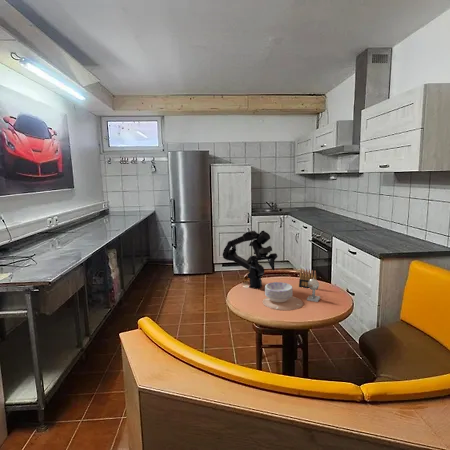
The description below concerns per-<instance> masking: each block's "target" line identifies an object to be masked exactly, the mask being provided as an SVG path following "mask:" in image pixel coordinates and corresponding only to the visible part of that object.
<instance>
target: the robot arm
mask: <svg viewBox="0 0 450 450" xmlns="http://www.w3.org/2000/svg"><path fill="white" fill-rule="evenodd" d="M270 239H271V235H270V233H268V232H266V231H265V230H261V231H260V232H259V233H258V232H257V231H256V230H250V231H246V232H244V233H243V234H242V236H241V235H240V236H238V237H237V238H234V239H232V240H229V241H228V242H227V244H226V246H225V247H224V249H223V252H222V258H223V260H226V261H229V262H230V261H231V262H234V263H235V264H237V265H238V266H239V265H240V266H241V267H243V269H246V270H248V274H247V278H248V279H249V286H248V288H251V289H258V290H259V289H260V288H261V287H263V284H262V283H263V282H262V281H263V280H262V277H263V276H264V274H265V267H264V266H263V265H262V264H260V263H259V261H266V260H267V261H268V262H267V263H268V265H269V266H270V268H271V270H273V272H274V271H275V270H276V269H275V261H276V259H277V258H278V256H279V255H278V254H277V253H276V252H274V253H271V252H272V251H273V247H272V246H271V245H268V246H267V247H264V246H263V245H265V244H266V243H267V242H268V241H269V240H270ZM244 242H250V243H249V245H248V246H249V247H252V249H253V255H250V256H249V257H248V258H247V259H245V258H243V257H241V256H240V255H238V253H237V252H236V251H237V247H236V246H237V245H240V244H243V243H244ZM269 253H270V254H269Z"/></svg>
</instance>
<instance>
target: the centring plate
mask: <svg viewBox="0 0 450 450" xmlns="http://www.w3.org/2000/svg"><path fill="white" fill-rule="evenodd" d="M262 304H263V305H264V306H265V307H267V308H270V309H271V310H276V311H293V310H298V309H301V308H302V307H303V306H304V302H303V300H302V299H301V298H298V297H295V296H293V295H292V297H290V298H289V299H288V300H287V301H286V302H281V303H278V302H273V301H271V300H270V299H269V297H267V296H265V297H264V298H263V300H262Z"/></svg>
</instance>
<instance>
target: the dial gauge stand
mask: <svg viewBox="0 0 450 450" xmlns="http://www.w3.org/2000/svg"><path fill="white" fill-rule="evenodd" d="M308 287H309V288H310V289H309V290H312V291H311V292H312V293H311V294H309V295H308V296H307V297H306V301H310V302H314V303H315V302H316V303H318V302H319V301H320V299H321V296H319V295H316V290H318V288H320V283H319V281H318V280H317V278H316V279H314V278H313V279H311V280H309V282H308Z"/></svg>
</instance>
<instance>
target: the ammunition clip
mask: <svg viewBox="0 0 450 450" xmlns="http://www.w3.org/2000/svg"><path fill="white" fill-rule="evenodd" d="M311 279H316V280H317V272H316V270H313V269H311V270H310V269H307V268H306V269H305V268H303V269H302V268H300V270H299V281H298V282H299V283H298V288H302V287H303V289H308V288H309V287H308V282H309V280H311Z"/></svg>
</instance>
